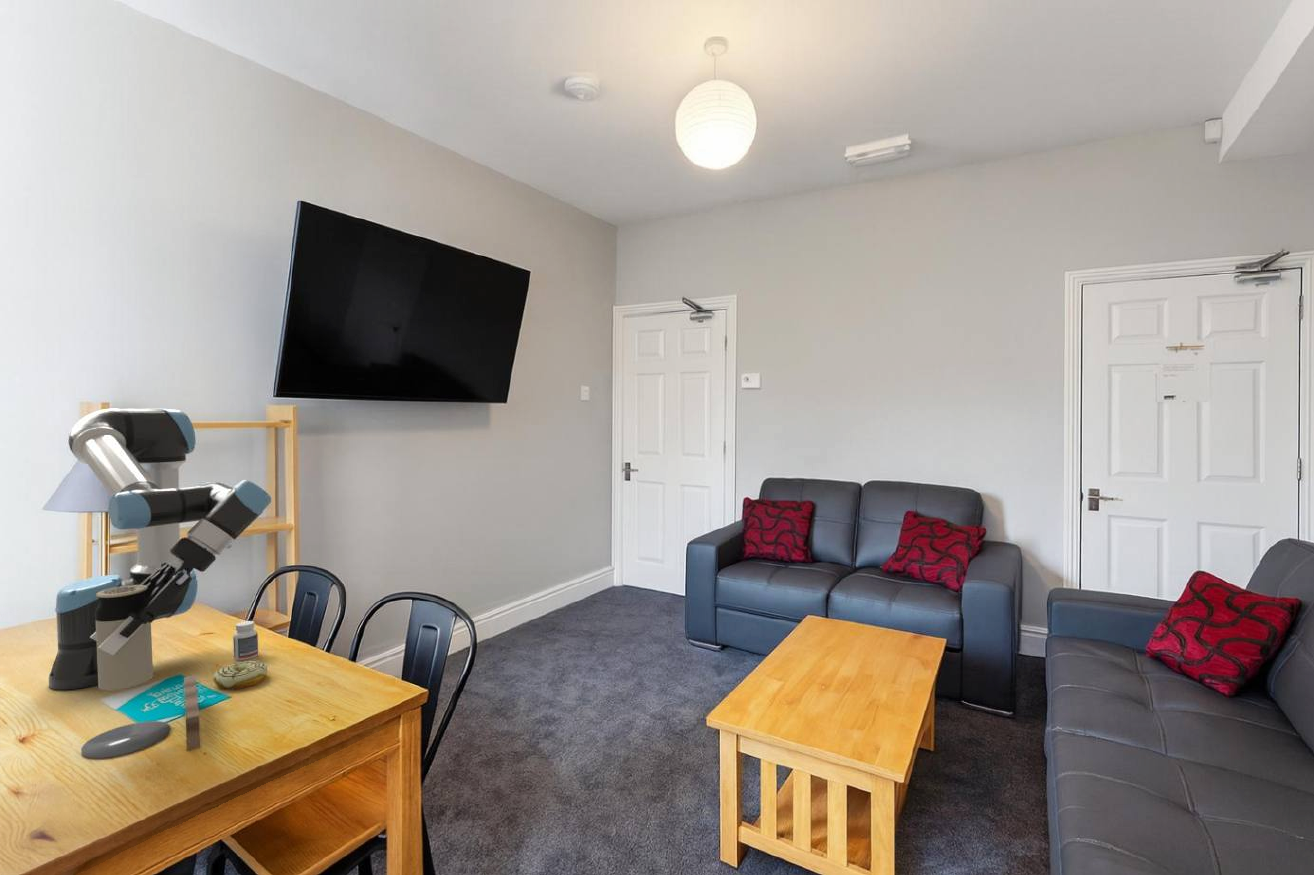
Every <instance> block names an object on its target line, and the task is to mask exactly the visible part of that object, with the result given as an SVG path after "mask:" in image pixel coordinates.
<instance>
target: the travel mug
mask: <svg viewBox="0 0 1314 875" xmlns="http://www.w3.org/2000/svg"><path fill="white" fill-rule="evenodd" d="M147 589H148V587H147V586H146V585H128V586H121V587H115V588H110V589H106V590H103V591H100V592H98V593H97V594H96V596H97V597H98V598H99V602H100V604H99V606H98V607H97V609H96V611H95V617H96V640H97V663H98V689H100V690H102V691H110V692H111V691H113V692H114V691H120V690H125V689H130V688H134V687H137V686H140V685H142V684H144V683H146V682H149V680H151V679H152V678H153V677H154V667H153V643H152V622H151V623H149V622H147V623H146V624H144V625H143V626H142V627H141V628H140V629H139V630H138V631H137V632H136V633H135V634H134V635H133V636H132V637H131V638H130V639H129V640H128V641H127V642H126V643H125V644H124V645H123V646H122V647H121V648H120V649H119V650H118V651H117V652H116V653H115V654H114V655H111V654H109V653H107V652H105V651H103V650H102V649H100V648H98V647H99V646H100V645H101V644H102V643H103V642H104V641H105V640H106V639H107V638H108V637H109V636H110V635H111V634H112V633H113V632H114V631H115V630H116V629H117V628H118V627H119V626H120V625H121V624H122V623H123V622H124V621H125V620H126V619H127V618H128V617H129V613H131V612H134V613H136V611H137V610H138V609H139V608H140V606H141V605H142V604H143V603H144V602H145V600H146V599H147V598H146V597H145V594H146V590H147Z"/></svg>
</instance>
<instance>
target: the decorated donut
mask: <svg viewBox="0 0 1314 875" xmlns="http://www.w3.org/2000/svg"><path fill="white" fill-rule="evenodd" d="M267 672H268V665H267V664H266V663H265V662H262V661H259V660H243V661H238V662H235V663H233V664H229V665H226V666H223V667H221V668H219V669H217V670H216V671H215V673H214V674H213V676H212V677H213V678H212V679H213V682H214V683H215V685H216V686H217V687H218V688H219V689H222V690H238V689H245V688H248V687H253V686H256V685H257V684H259V683H261V682H263V681H264V680H265V678H266V675H267V674H268V673H267Z"/></svg>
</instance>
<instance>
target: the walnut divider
mask: <svg viewBox="0 0 1314 875" xmlns="http://www.w3.org/2000/svg"><path fill="white" fill-rule="evenodd" d="M183 686H184V687H183V688H184V710H185V740H186V742H185V743H186V751H191V750H195V749H199V748H200V747H201V740H200V739H201V738H200V735H201V733H200V711H199V700H198V689H197V688H198V687H197V677H196V674H193V675H191V676H190V675H189V676H185V677H183Z"/></svg>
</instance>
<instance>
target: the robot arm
mask: <svg viewBox="0 0 1314 875" xmlns="http://www.w3.org/2000/svg"><path fill="white" fill-rule="evenodd" d="M196 440H197V439H196V434H195V428H194V426H193V424H192V421H191V419H190V417H189V416H188V414H186V413H185V412H184V411H182V410H180V409H172V408H171V409H170V408H106V409H100V410H98V411H94V412H92V413H90V414H87V415H86V416H84V417H82V418H81V419H80V420H78V421H77V422H76V423H75V425H74V426H73V427H72V429H71V431H70V433H69V435H68V445H69V449H70V452H72V454H73V456H74V457H75V458H76V459H77V460H78V461H80V462H81V463H83V464H85V465H88V467H89V469H91V471H92V472H93V474H94V475H95V476H96V478H97V479H98V480H99V482H100V483H101V484H102V485H103V487H104V488H105V489H106V491H107V492H108V494H109V495H110V496H111V497H110V499H108V500H109V501H108V509H107V510H108V516H109V517H108V518H109V519H110V523H111V525H112V527H113V528H115V529H118V530H130V529H131V530H133V529H135V530H136V537H137V538H136V541H137V546H136V547H137V548H136V549H137V562H136V564H135V565H133V566H132V567H131V568H130V570H129V577H128V578H125V579H122V577H121V576H120V575H119V574H106V575H102V576H101V575H99V576H94V577H90V578H86V579H82V580H79V581H76V582H73V583H70V584H68V585H66V586H64V587H63V588H61V589H60V590H59V591H58V593H57V594H56V602H55V605H56V606H55V608H54V609H55V610H54V611H55V613H56V630H57V631H56V634H57V636H56V638H57V654H56V656H55V659H54V661H53V664H52V667H51V671H50V673H49V675H48V688H50V689H52V690H57V691H59V690H62V691H64V690H76V689H82V688H88V687H94V686H97V685H98V663H97V640H96V617H95V611H96V609H97V607H98V606H99V604H100V602H99V598H98V597H97V596H96V594H97V593H98V592H100V591H103V590H106V589H110V588H115V587H121V586H128V585H146V586H147V587H148V589H147V590H146V594H145V597H146V598H147V599H146V600H145V602H144V603H143V604H142V605H141V606H140V608H139V609H138V610H137V611H136V613H134V612H131V613H129V617H128V618H127V619H126V620H125V621H124V622H123V623H122V624H121V625H120V626H119V627H118V628H117V629H116V630H115V631H114V632H113V633H112V634H111V635H110V636H109V637H108V638H107V639H106V640H105V641H104V642H103V643H102V644H101V645H100V646H99V647H98V648H100V649H102V650H103V651H105V652H107V653H109V654H111V655H114V654H115V653H116V652H117V651H118V650H119V649H120V648H121V647H122V646H123V645H124V644H125V643H126V642H127V641H128V640H129V639H130V638H131V637H132V636H133V635H134V634H135V633H136V632H137V631H138V630H139V629H140V628H141V627H142V626H143V625H144V624H146V623H147V622H149V623H151V624H152V623H153V622H154V621H156V620H161V619H169V618H172V617H173V616H178V615H182V614H185V613H187V612H188V611H190V609H191V608H192V606H193V605H194V604H195V602H196V598H197V594H198V593H197V592H198V580H197V573H196V572H195V571H194V570H196V571H199V572H201V573H202V572H205V571H206V570H207V569H209V567H210V566H211V565H212V564H214V562H215V561H216V560H217V557H216V555H217V556H219V555H222V554H223V552H224V551H226V550H227V549H231V548H232V547H233V546H232V543H233V542H234V541H235V540H236V539H237V538H238V537H240V535H242V533H243V532H244V531H245V530H246V529H247V528H248V527H249V526H250V525H251V524H252V523H254V522H255V520H256V519H258V518H259V517H260V516H261V515H262V514H263V513H264V512H265V509H266V508H268V506H269V505H270V504H271V503H272V497H271V495H270V494H269V493H268V492H267V491H266V490H264V489H263V488H262V487H260V486H259V485H257V484H256V483H254V482H253V481H250V480H248V479H243V480H241V481H240V482H238V483H237V484H236V485H234V486H233V487H231V486H228V485H227V484H224V483H221V482H213V481H209V482H203V483H201V484H199V485H196V486H195V485H194V486H186V487H184V486H183V487H180V476H179V475H180V474H179V469H180V467H181V466H182V465H183V464H184V463H186V460H187V456H186V455H189V454H191V453H193V452H194V450H195V447H196ZM191 522H196V523H195V524H194V525H193V527H192V528H190V529H189V530H188V531H187V532H186V535H187V536H184V537H180V536H181V535H180V532H181V531H180V528H181V527H180V524H184V523H191Z"/></svg>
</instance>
